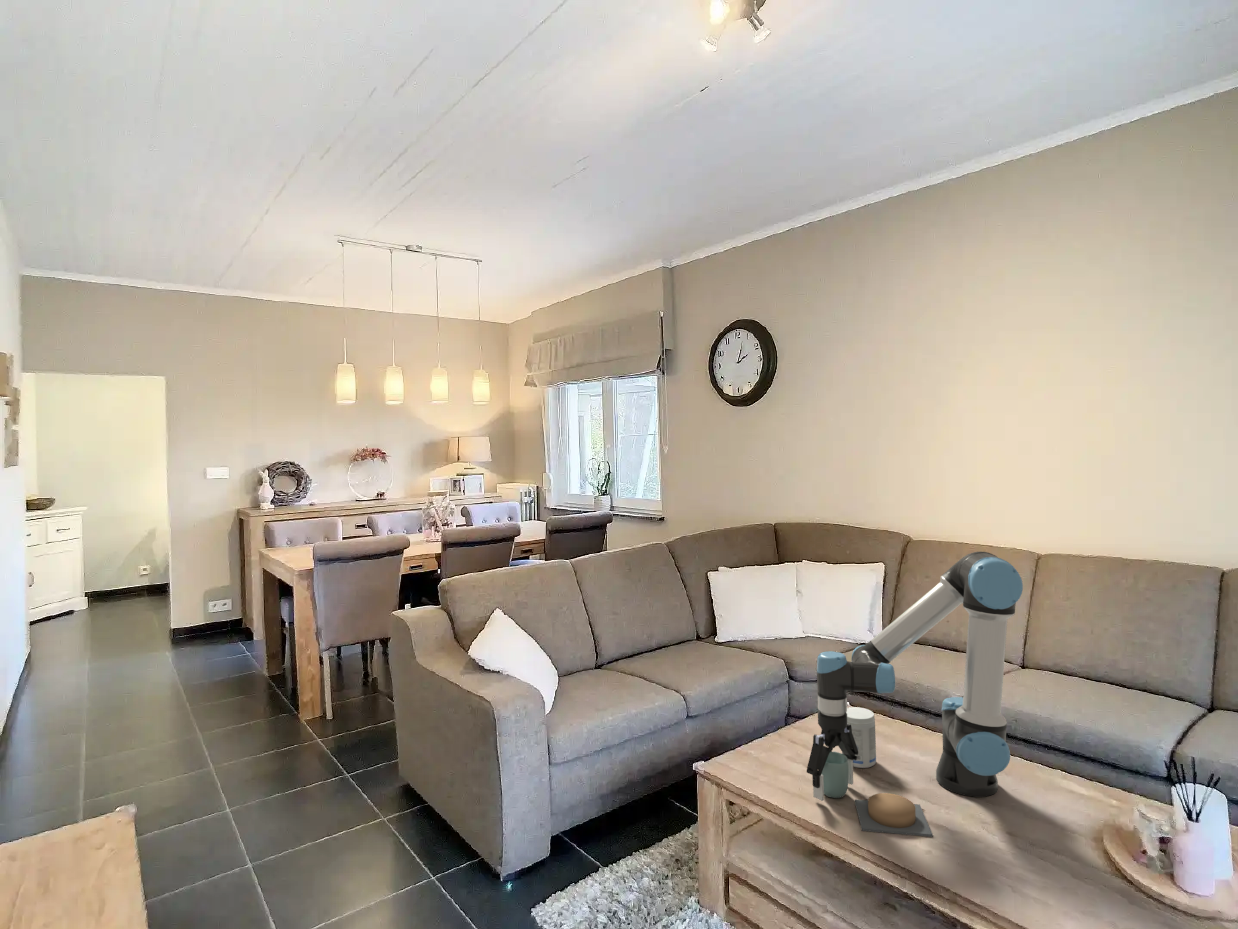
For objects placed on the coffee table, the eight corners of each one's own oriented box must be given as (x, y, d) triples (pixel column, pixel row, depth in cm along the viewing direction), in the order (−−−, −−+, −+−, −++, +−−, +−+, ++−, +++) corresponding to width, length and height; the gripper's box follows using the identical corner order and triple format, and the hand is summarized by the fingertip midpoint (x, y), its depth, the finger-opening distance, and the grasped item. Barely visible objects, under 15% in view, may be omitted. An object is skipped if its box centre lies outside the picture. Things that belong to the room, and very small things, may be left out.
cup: (850, 803, 181) (850, 765, 180) (819, 800, 182) (819, 763, 182) (847, 788, 188) (846, 752, 188) (817, 786, 190) (816, 750, 190)
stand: (919, 806, 178) (919, 793, 178) (932, 837, 164) (932, 822, 164) (854, 801, 181) (854, 788, 181) (861, 830, 167) (861, 816, 167)
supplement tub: (864, 753, 209) (863, 705, 209) (883, 767, 200) (882, 716, 200) (835, 757, 207) (834, 708, 207) (852, 771, 198) (852, 720, 198)
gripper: (847, 696, 195) (848, 771, 196) (791, 719, 180) (793, 800, 181) (871, 703, 189) (872, 781, 190) (815, 727, 174) (817, 811, 175)
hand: (833, 790), depth 185 cm, fingers open, 12 cm apart
